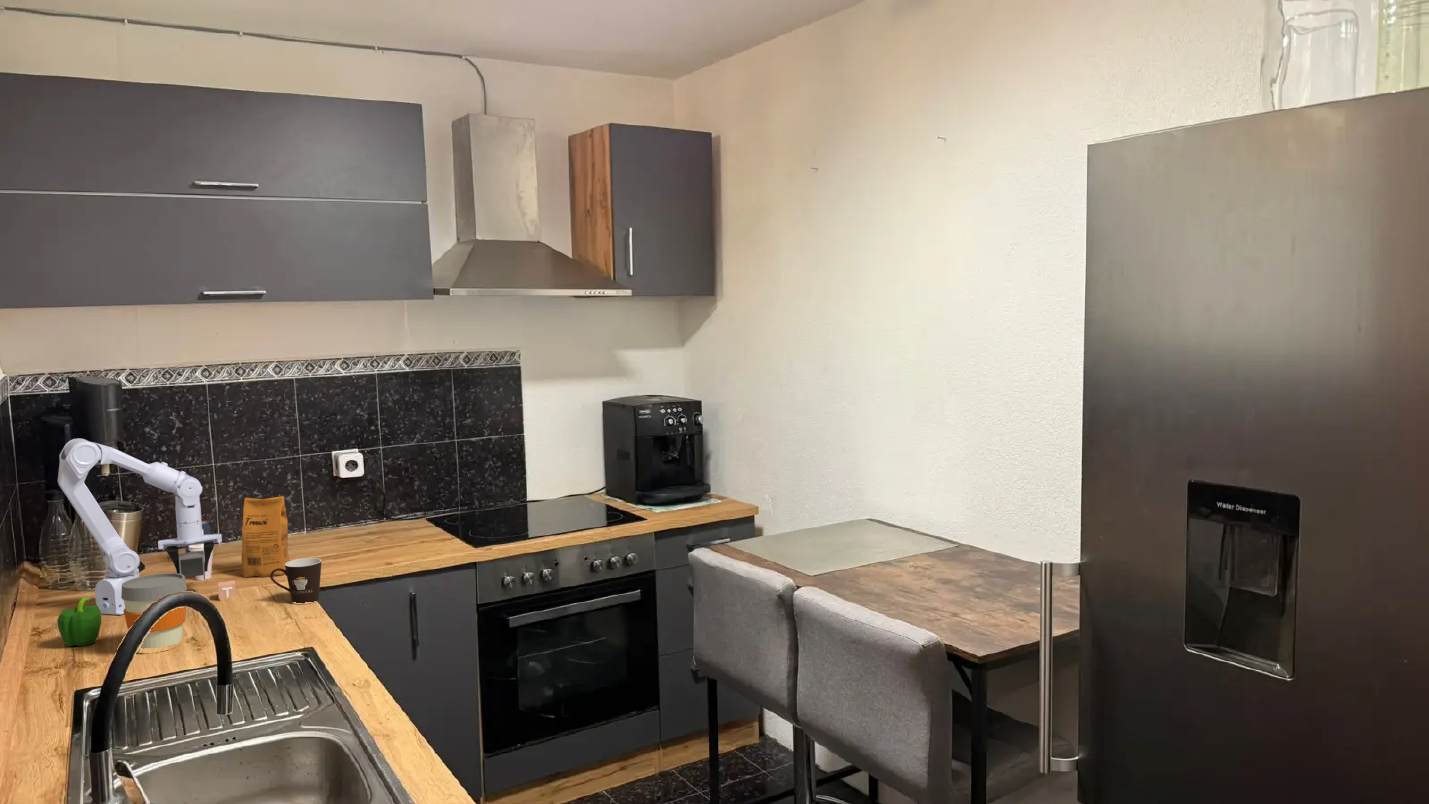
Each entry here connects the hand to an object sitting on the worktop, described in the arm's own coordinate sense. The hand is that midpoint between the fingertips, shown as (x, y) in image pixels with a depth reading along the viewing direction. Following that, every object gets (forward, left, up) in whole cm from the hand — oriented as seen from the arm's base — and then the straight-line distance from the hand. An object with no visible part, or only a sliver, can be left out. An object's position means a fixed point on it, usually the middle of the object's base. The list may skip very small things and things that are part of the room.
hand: (192, 572), depth 249 cm
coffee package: (+22, -5, -6) cm, 23 cm away
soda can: (+30, +24, -6) cm, 39 cm away
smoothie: (+14, +9, -6) cm, 18 cm away
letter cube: (-1, -11, -6) cm, 13 cm away
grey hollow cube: (0, 0, -2) cm, 2 cm away
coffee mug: (0, -31, -6) cm, 32 cm away
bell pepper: (-37, -3, -6) cm, 38 cm away
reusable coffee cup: (-36, -22, -6) cm, 43 cm away
